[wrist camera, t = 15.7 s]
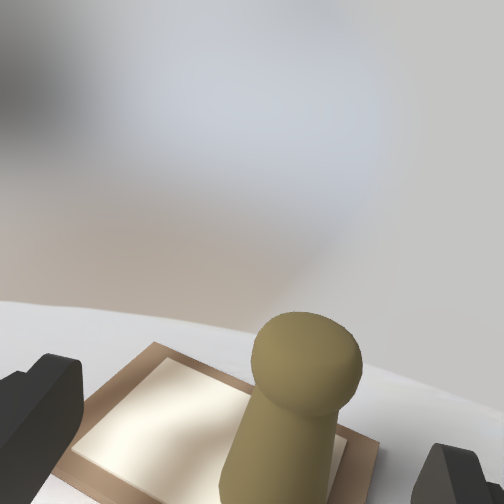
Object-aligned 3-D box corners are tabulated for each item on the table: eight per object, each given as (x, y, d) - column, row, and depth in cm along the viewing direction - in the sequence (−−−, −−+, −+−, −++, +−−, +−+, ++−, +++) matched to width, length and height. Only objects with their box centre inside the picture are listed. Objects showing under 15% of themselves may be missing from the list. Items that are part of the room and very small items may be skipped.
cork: (342, 484, 26) (398, 332, 21) (291, 571, 22) (348, 400, 17) (257, 428, 29) (290, 282, 24) (195, 494, 24) (221, 328, 19)
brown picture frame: (376, 450, 30) (380, 440, 30) (329, 643, 20) (334, 631, 20) (153, 349, 36) (154, 339, 35) (28, 459, 26) (27, 447, 25)
